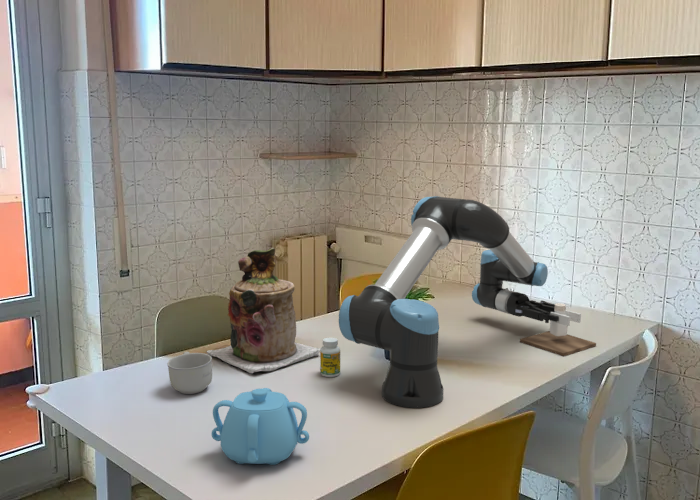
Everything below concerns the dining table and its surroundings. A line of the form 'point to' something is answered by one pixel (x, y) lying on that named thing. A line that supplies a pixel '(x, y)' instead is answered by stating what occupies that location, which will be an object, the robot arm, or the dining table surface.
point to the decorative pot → (259, 427)
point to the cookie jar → (262, 319)
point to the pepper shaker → (556, 327)
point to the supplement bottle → (330, 358)
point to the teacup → (190, 372)
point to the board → (558, 343)
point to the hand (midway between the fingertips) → (574, 319)
